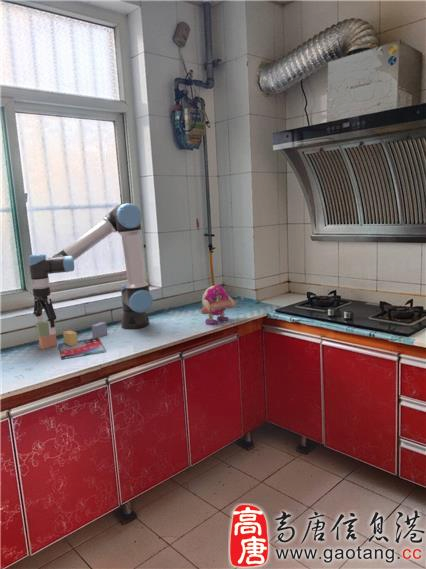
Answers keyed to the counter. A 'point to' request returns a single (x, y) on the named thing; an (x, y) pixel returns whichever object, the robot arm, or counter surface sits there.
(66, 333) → the mustard brick
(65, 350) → the magazine
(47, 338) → the terracotta brick
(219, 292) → the toy
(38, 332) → the green brick
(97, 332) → the slate brick
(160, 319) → the counter surface
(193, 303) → the counter surface
